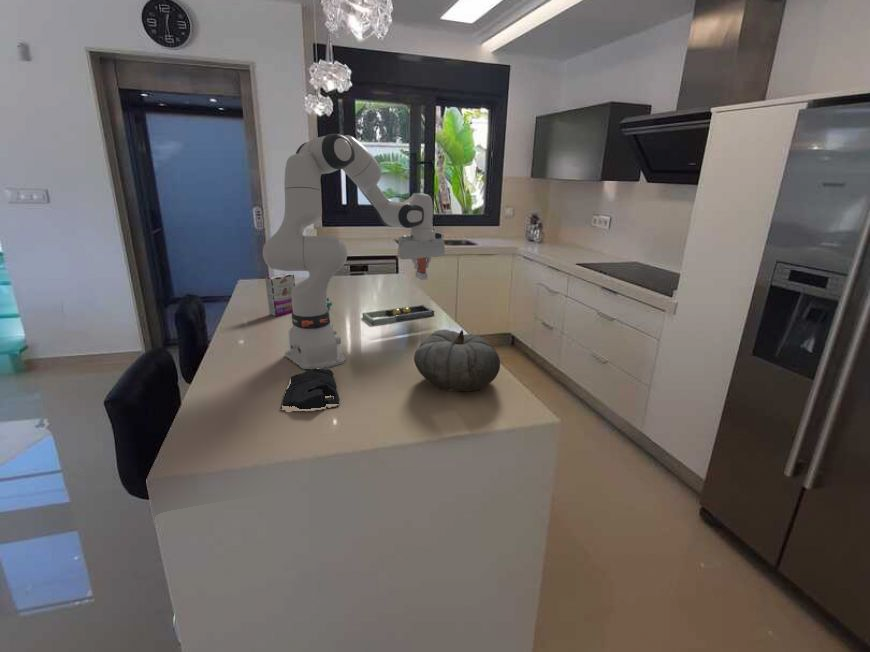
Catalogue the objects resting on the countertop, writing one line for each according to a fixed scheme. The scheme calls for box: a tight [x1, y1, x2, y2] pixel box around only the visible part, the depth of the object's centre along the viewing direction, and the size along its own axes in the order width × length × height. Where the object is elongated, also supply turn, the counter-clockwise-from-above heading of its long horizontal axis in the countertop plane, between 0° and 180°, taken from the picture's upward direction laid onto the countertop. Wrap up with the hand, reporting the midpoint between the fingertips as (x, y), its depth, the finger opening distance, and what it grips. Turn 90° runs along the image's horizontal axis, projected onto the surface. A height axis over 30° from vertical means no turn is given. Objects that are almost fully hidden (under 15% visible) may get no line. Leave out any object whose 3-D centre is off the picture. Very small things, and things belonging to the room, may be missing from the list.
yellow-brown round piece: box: [402, 306, 411, 314], centre depth 190 cm, size 4×4×4 cm
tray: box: [362, 309, 397, 326], centre depth 185 cm, size 11×10×3 cm
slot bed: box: [385, 304, 435, 322], centre depth 191 cm, size 10×18×3 cm, turn 119°
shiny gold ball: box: [393, 308, 401, 316], centre depth 188 cm, size 4×4×4 cm
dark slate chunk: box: [281, 368, 341, 409], centre depth 126 cm, size 15×22×5 cm
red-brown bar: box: [414, 258, 428, 281], centre depth 187 cm, size 6×3×10 cm, turn 29°
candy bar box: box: [265, 272, 296, 317], centre depth 192 cm, size 11×5×16 cm, turn 143°
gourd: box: [413, 328, 501, 392], centre depth 132 cm, size 25×25×17 cm
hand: (421, 268), depth 188 cm, fingers closed on red-brown bar, 3 cm apart
